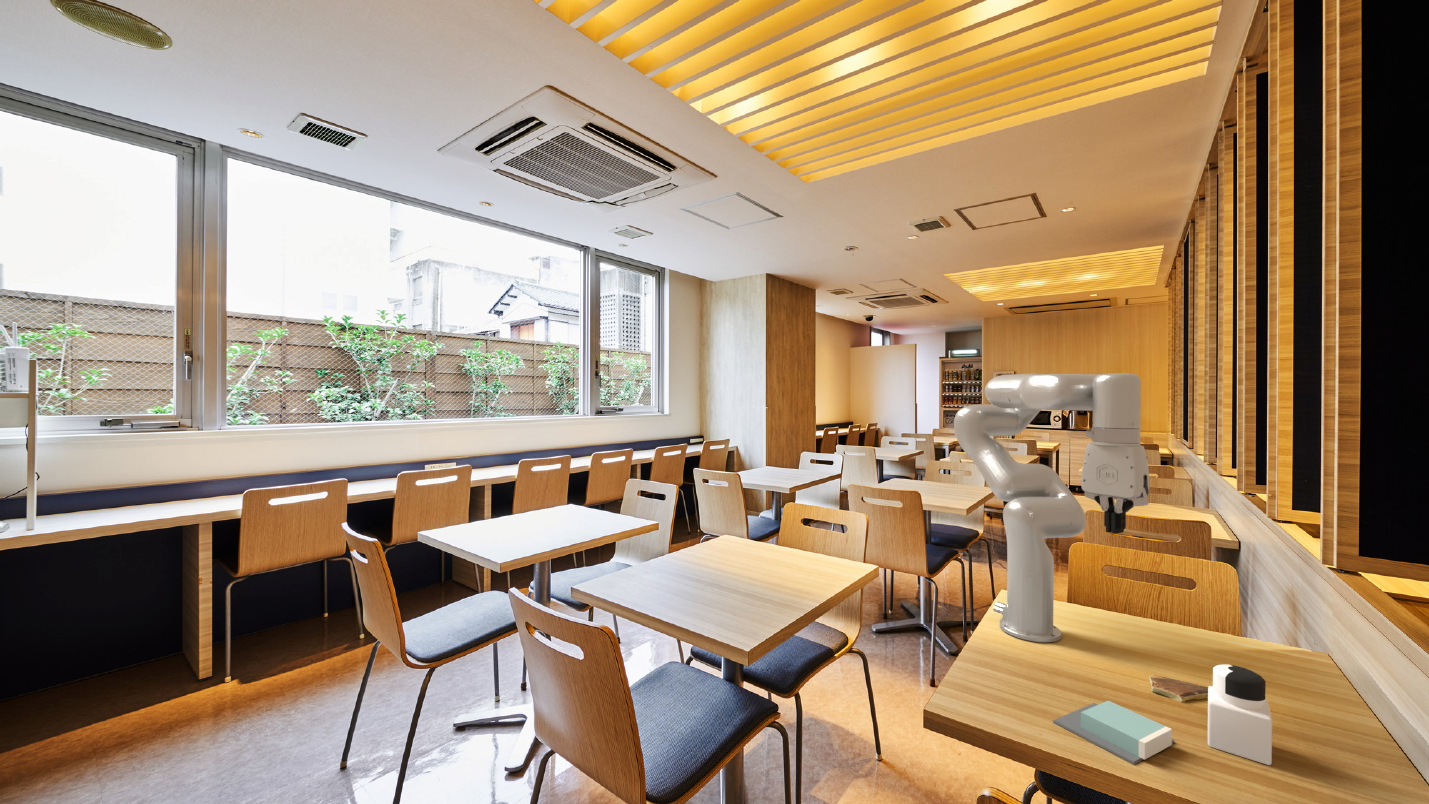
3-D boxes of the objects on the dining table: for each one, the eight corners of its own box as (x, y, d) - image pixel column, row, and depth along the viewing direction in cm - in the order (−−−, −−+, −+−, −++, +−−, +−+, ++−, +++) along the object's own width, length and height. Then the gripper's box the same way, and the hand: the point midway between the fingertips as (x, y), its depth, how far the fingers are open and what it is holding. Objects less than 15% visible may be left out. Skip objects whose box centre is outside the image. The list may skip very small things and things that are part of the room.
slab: (1080, 712, 92) (1144, 743, 83) (1108, 700, 95) (1172, 729, 87) (1080, 727, 92) (1144, 759, 83) (1108, 715, 95) (1171, 744, 87)
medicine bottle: (1267, 745, 88) (1268, 669, 88) (1271, 767, 83) (1272, 686, 82) (1207, 727, 93) (1208, 655, 93) (1207, 746, 87) (1208, 670, 87)
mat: (1053, 722, 94) (1053, 720, 94) (1094, 705, 99) (1094, 702, 99) (1133, 764, 83) (1133, 761, 83) (1174, 742, 88) (1174, 739, 88)
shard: (1222, 698, 103) (1222, 688, 103) (1231, 717, 96) (1231, 707, 96) (1148, 680, 109) (1148, 671, 109) (1152, 698, 102) (1152, 688, 102)
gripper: (1064, 435, 112) (1063, 526, 112) (1150, 440, 99) (1149, 543, 99) (1086, 434, 115) (1085, 522, 115) (1171, 439, 102) (1170, 539, 102)
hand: (1114, 532), depth 107 cm, fingers closed
